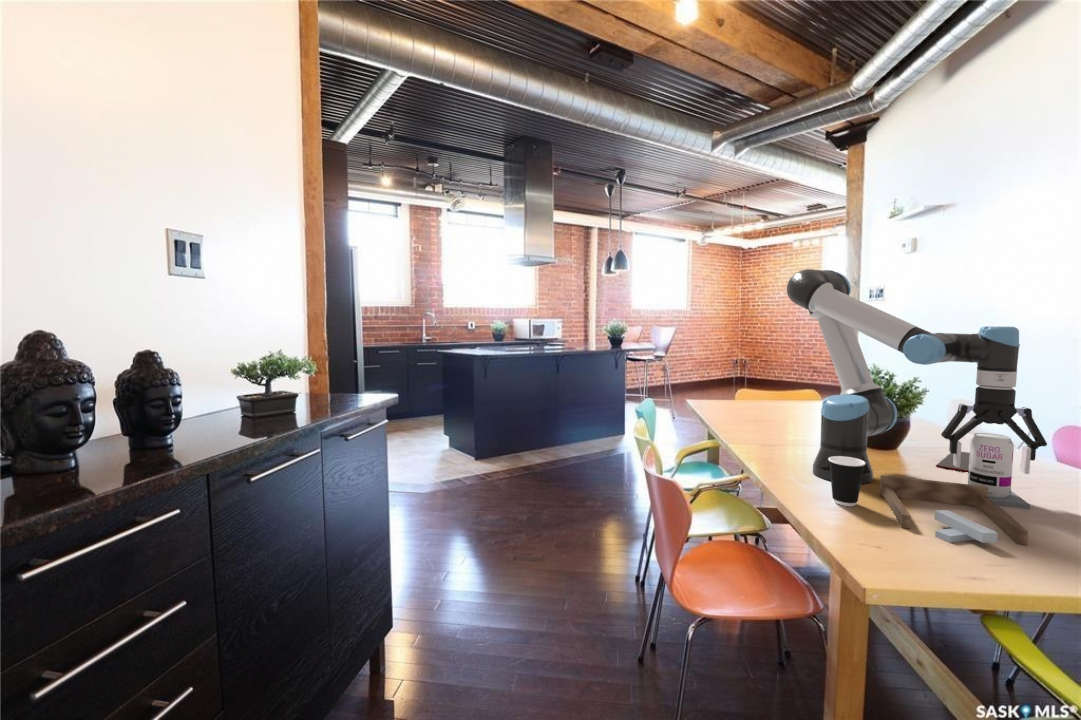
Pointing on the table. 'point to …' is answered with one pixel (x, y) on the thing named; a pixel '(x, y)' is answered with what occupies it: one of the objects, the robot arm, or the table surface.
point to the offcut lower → (952, 535)
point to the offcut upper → (966, 526)
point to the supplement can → (991, 463)
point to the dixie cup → (846, 479)
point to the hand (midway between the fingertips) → (989, 469)
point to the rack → (947, 501)
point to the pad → (1011, 501)
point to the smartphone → (948, 462)
